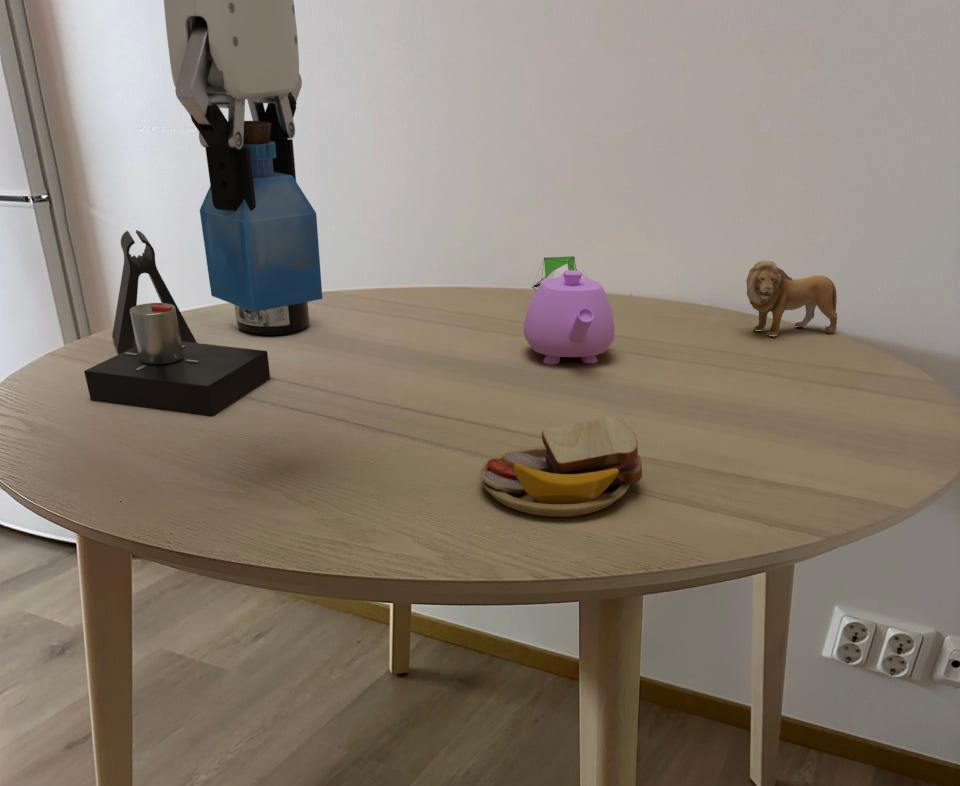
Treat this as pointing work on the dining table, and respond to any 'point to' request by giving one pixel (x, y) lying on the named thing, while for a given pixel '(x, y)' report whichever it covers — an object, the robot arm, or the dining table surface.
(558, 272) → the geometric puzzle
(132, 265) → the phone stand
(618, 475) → the toy sandwich meal
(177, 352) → the knob
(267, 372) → the hob
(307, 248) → the perfume bottle
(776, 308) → the lion figurine
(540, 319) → the teapot
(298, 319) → the ink bottle
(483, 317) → the dining table surface
